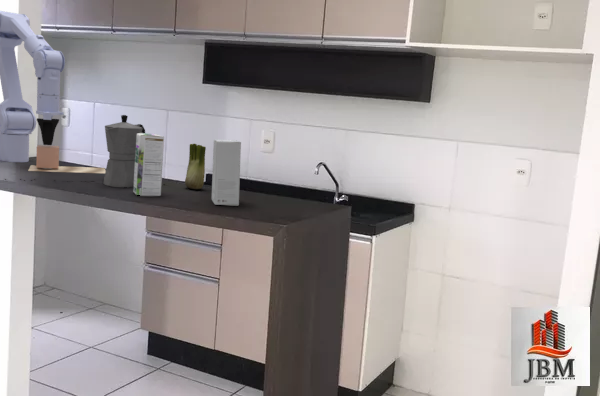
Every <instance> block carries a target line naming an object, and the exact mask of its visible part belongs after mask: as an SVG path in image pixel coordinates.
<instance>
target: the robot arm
mask: <svg viewBox="0 0 600 396" xmlns="http://www.w3.org/2000/svg"><path fill="white" fill-rule="evenodd" d="M30 23H31V22H30V18H29V17H28V16H27V15H26V14H25V13H16V12H10V11H4V10H0V84H1V90H2V91H1V92H2V96H3V100H2V101H1V102H0V161H1V162H2V161H3V162H9V163H27V162H28V163H29V162H30V161H29V160H30V159H29V158H30V154H29V153H30V135H32V134H33V132H34V130H35V129H36V128H37V124H38V127H39V130H40V132H41V133H40V134H41V139H42V141H41V142H42V144H43V145H46V146H53V141H54V137H55V133H56V132H55V131H56V128H57V126H58V124H59V122H60V119H59V118H58V119H57V118H53V117H54V116H60V115H61V116H64V115H65V112H64V111H60V106H61V105H60V102H61V100H60V99H61V96H60V95H61V93H60V92H61V88H60V87H61V73H62V72H63V71H64V70H65V66H66V60H65V59H66V58H65V56H64V55H65V54H64V53H63V52H62V51H61V50H55V49H53V47H52V46H51V45H50V44H49V43H48V41H46V39H45V37H44V36H43V35H42V34H36V33H35V32H34V30H33V29H32V28H31V27H30V26H31V24H30ZM22 43H23V46H24V49H25V51H26V52H27V53H28V55H30V57H31V58H32V64H33V67H34V71H35V72H34V73H35V74H34V76H35V77H36V78H37V81H36V86H37V87H36V88H37V89H36V90H37V91H36V92H37V93H36V110H35V113H36V114H37V115H42V118H36V115H35V113H34V111H33V107H32V105H30V103H28V102H27V101H26V100H24V99H23V93H22V87H21V81H20V76H19V69H18V62H17V56H16V51H15V48H16V47H18V46H21V45H22Z"/></svg>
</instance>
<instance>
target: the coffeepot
mask: <svg viewBox="0 0 600 396" xmlns="http://www.w3.org/2000/svg"><path fill="white" fill-rule="evenodd" d="M120 117H121V122H115V123H112V124H106V125H104V131H105V140H106V149H107V150H106V151H107V152H109V158H108V160H107V164H106V168H105V170H106V172H105V174H104V177H103V182H102V183H103V185H104V186H107V187H111V188H112V187H114V188H124V187H127V188H134V168H135V153H136V137H137V133H146V129H145V127H144V125H143V124H141V123H138V124H133V123H131V122H130V123H129V122H128V115H126V114H121V115H120ZM127 188H126V189H127Z"/></svg>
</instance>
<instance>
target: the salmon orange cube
mask: <svg viewBox="0 0 600 396" xmlns="http://www.w3.org/2000/svg"><path fill="white" fill-rule="evenodd" d="M59 160H60V145H44V144H43V145H42V144H37V146H36V168H59V166H60V164H59V163H60V161H59Z"/></svg>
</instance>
